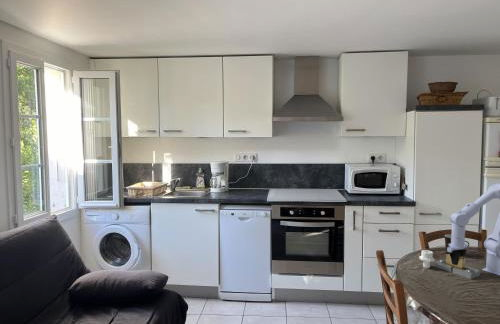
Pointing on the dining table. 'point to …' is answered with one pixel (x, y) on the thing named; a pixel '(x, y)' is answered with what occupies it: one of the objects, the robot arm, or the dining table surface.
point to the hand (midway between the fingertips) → (456, 263)
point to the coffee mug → (449, 241)
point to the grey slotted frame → (457, 269)
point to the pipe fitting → (426, 258)
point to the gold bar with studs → (459, 265)
